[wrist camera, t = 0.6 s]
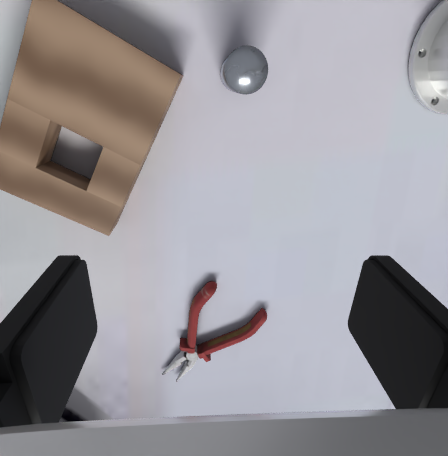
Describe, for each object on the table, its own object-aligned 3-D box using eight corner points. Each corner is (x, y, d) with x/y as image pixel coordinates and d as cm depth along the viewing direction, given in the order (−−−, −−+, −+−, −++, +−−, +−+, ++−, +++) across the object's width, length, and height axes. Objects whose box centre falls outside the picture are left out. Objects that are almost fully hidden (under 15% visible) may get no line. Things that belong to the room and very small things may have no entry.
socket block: (53, -3, 30) (35, -13, 27) (183, 75, 33) (180, 74, 30) (4, 174, 37) (-14, 183, 34) (116, 224, 40) (109, 235, 37)
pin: (230, 48, 32) (238, 36, 24) (259, 66, 33) (276, 61, 25) (214, 80, 34) (216, 80, 26) (242, 98, 35) (253, 102, 27)
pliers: (140, 358, 51) (137, 372, 49) (209, 275, 45) (209, 285, 43) (197, 383, 55) (197, 396, 52) (268, 308, 48) (272, 320, 46)
